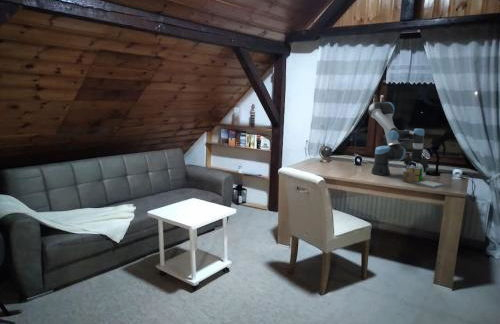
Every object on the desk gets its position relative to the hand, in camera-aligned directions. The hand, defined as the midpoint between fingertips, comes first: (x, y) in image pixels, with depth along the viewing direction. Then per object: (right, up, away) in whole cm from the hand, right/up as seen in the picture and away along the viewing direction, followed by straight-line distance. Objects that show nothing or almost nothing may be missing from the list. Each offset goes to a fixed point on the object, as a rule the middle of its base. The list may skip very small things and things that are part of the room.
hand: (415, 174), depth 284 cm
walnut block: (-9, -6, -7) cm, 13 cm away
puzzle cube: (0, -4, +1) cm, 4 cm away
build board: (+5, -7, -14) cm, 17 cm away
